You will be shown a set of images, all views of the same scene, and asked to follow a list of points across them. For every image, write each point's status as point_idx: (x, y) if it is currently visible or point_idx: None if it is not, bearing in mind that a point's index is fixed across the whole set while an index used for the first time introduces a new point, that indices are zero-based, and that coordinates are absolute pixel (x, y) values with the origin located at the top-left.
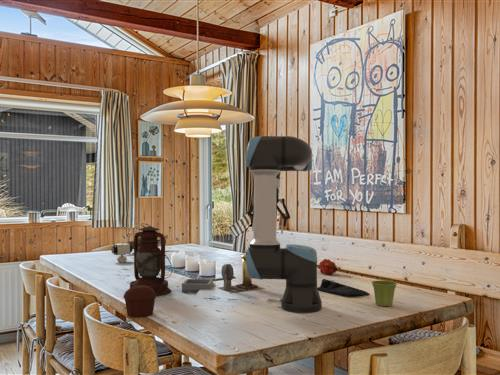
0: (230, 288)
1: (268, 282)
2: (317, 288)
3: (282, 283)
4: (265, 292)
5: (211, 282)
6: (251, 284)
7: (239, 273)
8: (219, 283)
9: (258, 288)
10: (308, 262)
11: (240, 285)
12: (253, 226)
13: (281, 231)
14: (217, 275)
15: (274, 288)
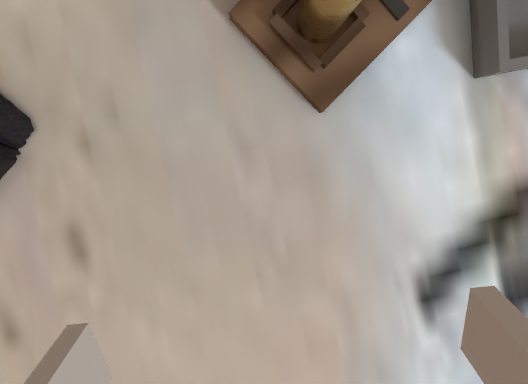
0: None
1: (261, 226)
2: (15, 108)
3: (199, 220)
4: None
5: (492, 16)
6: (298, 13)
7: (416, 380)
8: (459, 157)
9: (262, 8)
10: None
11: None
12: (523, 336)
13: (72, 339)
14: None
15: (210, 107)
